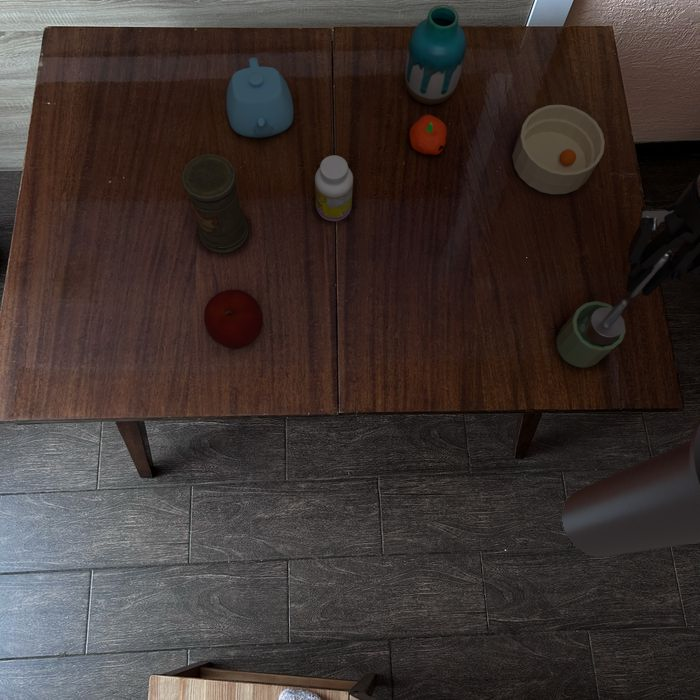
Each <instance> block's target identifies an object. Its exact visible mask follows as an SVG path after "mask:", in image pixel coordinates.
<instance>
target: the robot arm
mask: <svg viewBox="0 0 700 700" xmlns="http://www.w3.org/2000/svg"><path fill="white" fill-rule="evenodd" d="M661 223H665V228H664V229H662V230H661V231H660V232H659V233H658V234H657V235H656V236H655V237H653V238H652V235H653V231H654V232H656V230H657V227H659V226H660V224H661ZM651 238H652V239H651ZM650 239H651V240H650ZM679 246H680V247H679ZM678 247H679V248H678ZM673 248H675V249H677V248H678V249H677V250H676V252H674V254H673V255H672V257H671V259H670V260H669V261H668V262H667V263H666V264H665V266H664V267H663V268H662V269H661V270H660V271H659V272H658V274H657V275H656V276H655V277H654V278H653V279H652V280H651V282H650V283H649V284H648V285H647V286H646V287H645V288H644V290H643V291H642V296H646V297H649V296H650V295H651V294H652V293H654V291H655V290H656V289H658V287H659V286H660V285H662V284H663V283H664V284H668V283H670V282H671V281H675V282H678V281H680V280H681V275H682V274H686V275H687V276H688V277H692V278H693V277H696V276H698V275H700V173H698V174H697V176H695V178H694V179H693V180H692V181H691V182H690V184H688V186H687V187H686V188H685V189H684V190H683V192H682V193H681V195H680V196H679V198H678V200H676V201H675V202H673V203H671V204H668V206H666V208H665V209H662V210H654V207H653V206H652V205H649V204H648V205H643V206H642V207H641V212H640V221H639V225H638V227H637V229H636V231H635V233H634V235H633V237H632V238H631V241H630V243H629V248H628V254H627V255H628V257H627V263H629V264H630V268H629V273H628V274H627V282H626V290H625V292H626V291H627V292H633V291H634V290H635V289H636V288H637V287H638V286H639V285H640V284H641V283H642V281H643V280H644V279H645V278H646V277H647V276H648V275H649V274H650V273H651V272H652V266H653V264H654V263H655V262H656V261H657V260H659V259H660V258H661V257H662V256H663V255H665V254H666V253H667V252H668V251H669V250H671V251H672V249H673Z"/></svg>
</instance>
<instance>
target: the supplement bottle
mask: <svg viewBox="0 0 700 700" xmlns="http://www.w3.org/2000/svg"><path fill="white" fill-rule="evenodd" d="M319 166H320V167H318V169H317V170H316V173H315V175H314V194H315V195H314V197H315V208H316V211H317V214H319V215H320V217H321V218H323V219H324V220H326V221H330V222H338V221H341V220H343V219H345V218H346V217H347V216H348V215H350V213H351V212H352V211H351V210H352V207H353V191H354V190H353V188H354V175H353V172H352V171H351V168H349V165H348V162H347V160H346V159H345V158H344V157H342V156H340V155H335V154H333V155H329V156H326V157H324V159H322V161H321V162H320V165H319Z"/></svg>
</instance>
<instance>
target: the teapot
mask: <svg viewBox="0 0 700 700" xmlns="http://www.w3.org/2000/svg"><path fill="white" fill-rule="evenodd" d="M248 66H249V67H246V68H242V69H239V70H237V71H236V72H234V73H233V75H232V77H231V78H230V80H229V83H228V85H227V90H226V103H225V105H226V113H227V118H228V122H229V124H230V127H231V129H232V130H233V131H234V132H235V133H237V134H238V135H240V136H243V137H247V138H252V139H253V138H255V139H260V138H268V137H272V136H273V137H274V136H276V135H280V134H281V133H283V132H285V131H287V130H288V129H289V128H290V127H291V125H292V124H293V121H294V113H295V112H294V103H293V97H292V94H291V90H290V88H289V86H288V83H287V81H286V80H285V78H284V76H283V75H282V74H281V73H280V72H279V71H278V70H277V69H276V68H274V67H272V66H270V67H269V66H260V65H259V60H258V58H257V57H255V56H253V57H250V58H248Z"/></svg>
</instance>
